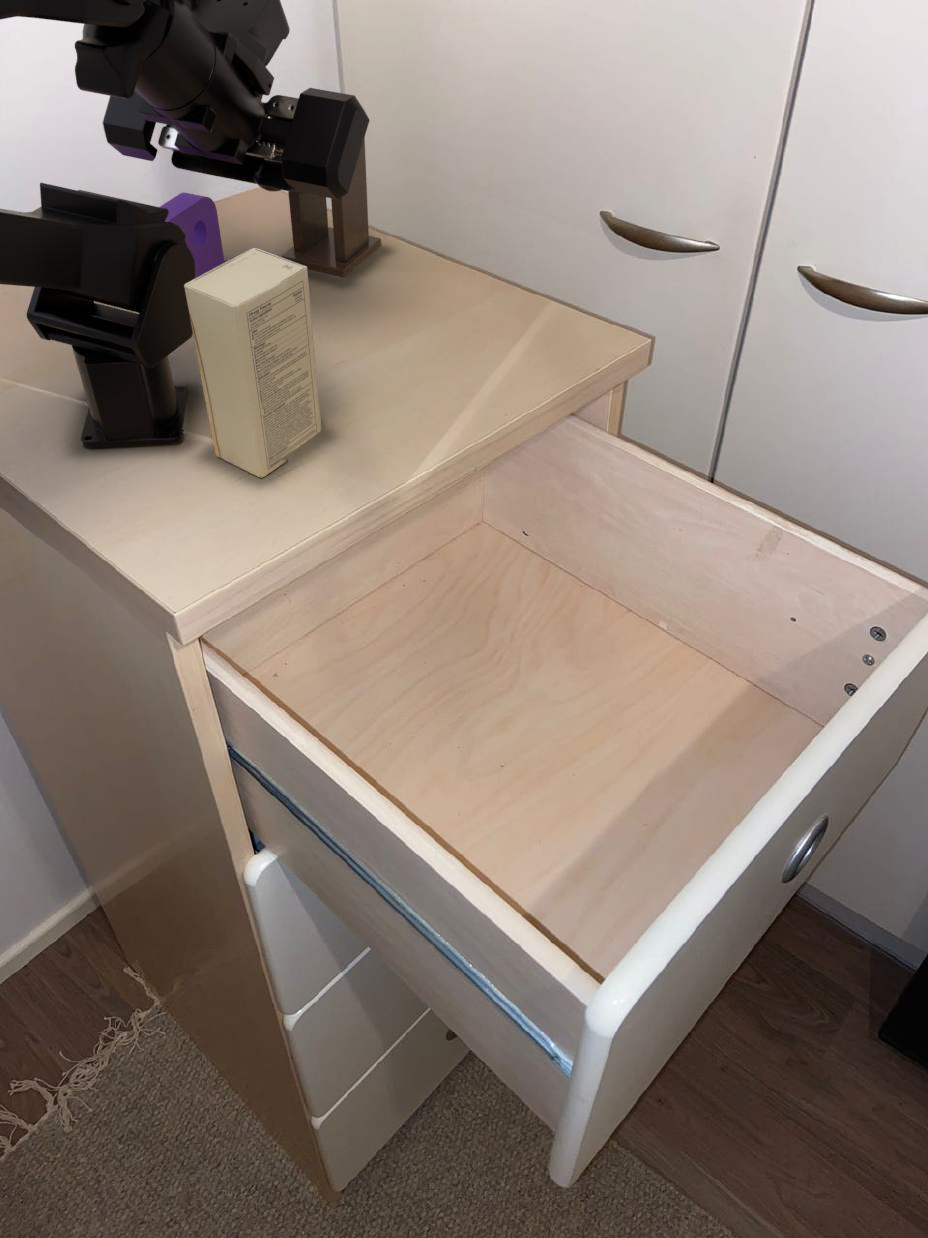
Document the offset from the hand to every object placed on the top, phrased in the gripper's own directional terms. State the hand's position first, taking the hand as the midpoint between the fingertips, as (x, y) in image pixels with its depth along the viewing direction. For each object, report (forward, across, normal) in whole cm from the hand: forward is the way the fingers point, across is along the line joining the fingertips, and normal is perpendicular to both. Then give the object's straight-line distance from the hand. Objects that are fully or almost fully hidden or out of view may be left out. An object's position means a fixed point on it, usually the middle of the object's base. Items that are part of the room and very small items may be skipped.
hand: (285, 182), depth 75 cm
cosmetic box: (-8, -10, +21) cm, 24 cm away
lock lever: (+2, 0, -1) cm, 2 cm away
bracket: (+4, +13, +9) cm, 16 cm away
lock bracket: (+11, 0, +2) cm, 11 cm away
